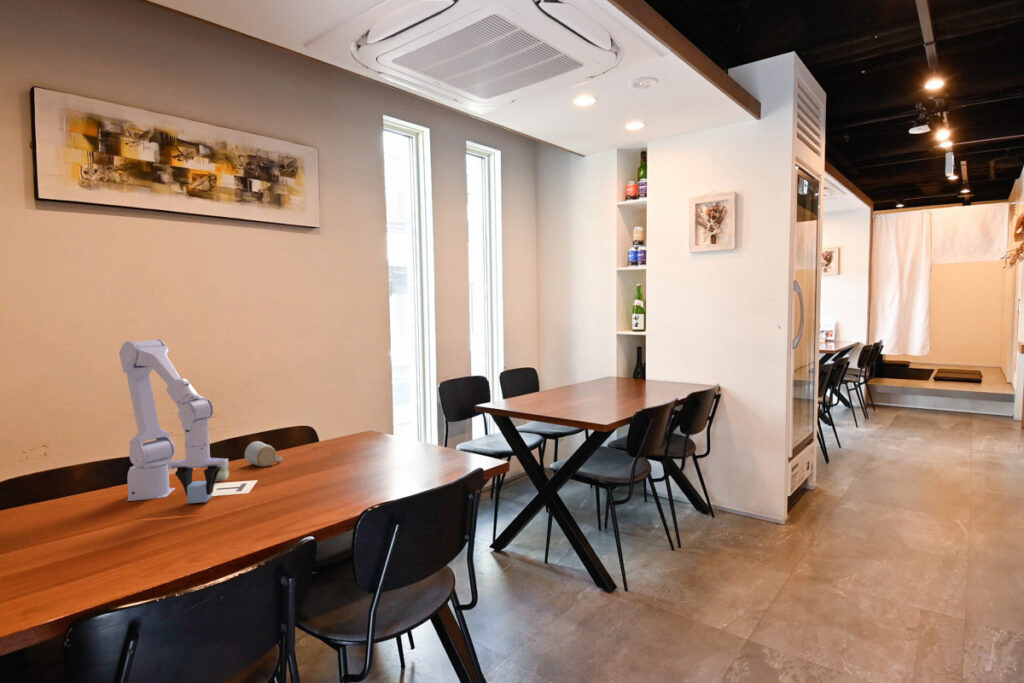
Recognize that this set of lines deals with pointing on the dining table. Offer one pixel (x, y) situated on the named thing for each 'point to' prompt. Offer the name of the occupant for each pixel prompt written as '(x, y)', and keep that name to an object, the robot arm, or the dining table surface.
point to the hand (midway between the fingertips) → (199, 493)
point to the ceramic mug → (261, 454)
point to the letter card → (233, 488)
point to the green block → (223, 474)
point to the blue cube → (197, 492)
